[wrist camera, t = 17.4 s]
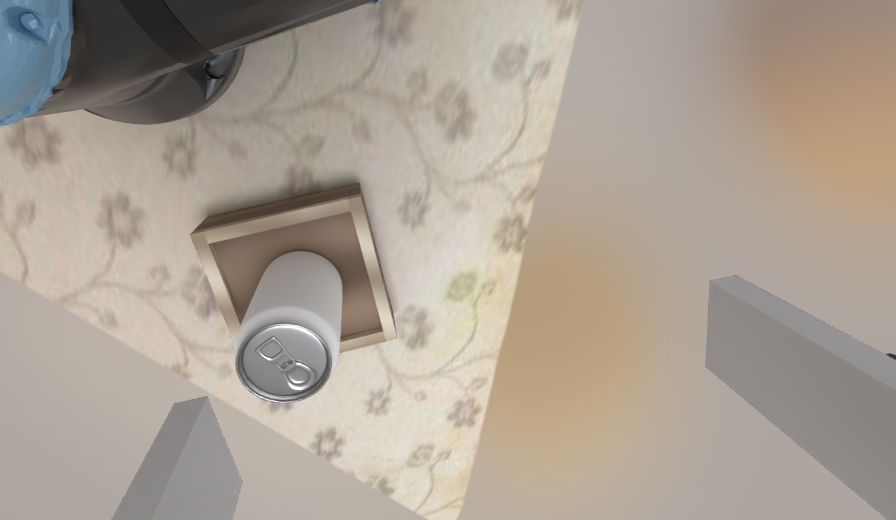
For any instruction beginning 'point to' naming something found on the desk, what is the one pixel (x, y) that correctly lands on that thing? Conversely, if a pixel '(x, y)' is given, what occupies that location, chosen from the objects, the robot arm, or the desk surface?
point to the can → (291, 329)
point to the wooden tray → (300, 229)
